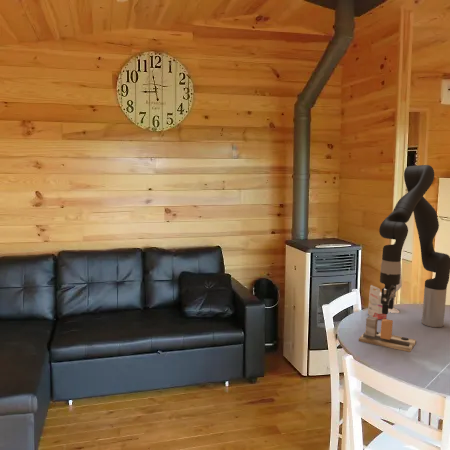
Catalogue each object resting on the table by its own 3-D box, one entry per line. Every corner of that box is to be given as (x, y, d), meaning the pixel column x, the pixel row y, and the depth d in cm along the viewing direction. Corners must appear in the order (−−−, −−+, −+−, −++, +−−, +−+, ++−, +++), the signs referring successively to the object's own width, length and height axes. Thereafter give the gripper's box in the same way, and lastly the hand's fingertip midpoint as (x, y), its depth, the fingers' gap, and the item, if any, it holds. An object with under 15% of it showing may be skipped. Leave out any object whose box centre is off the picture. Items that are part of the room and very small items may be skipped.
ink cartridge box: (387, 319, 227) (389, 288, 225) (377, 320, 226) (380, 289, 224) (376, 313, 235) (378, 284, 234) (367, 314, 234) (369, 284, 232)
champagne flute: (385, 312, 238) (388, 264, 235) (385, 308, 245) (388, 261, 241) (399, 313, 236) (403, 265, 233) (399, 309, 243) (402, 262, 240)
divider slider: (385, 333, 203) (387, 315, 202) (394, 335, 201) (395, 316, 200) (380, 340, 195) (381, 321, 194) (389, 342, 193) (390, 322, 192)
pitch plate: (366, 332, 208) (368, 310, 207) (415, 342, 198) (417, 319, 197) (358, 341, 198) (360, 318, 197) (410, 351, 188) (411, 327, 187)
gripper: (385, 267, 200) (382, 305, 202) (376, 273, 188) (373, 313, 190) (404, 269, 196) (401, 308, 198) (396, 276, 184) (392, 317, 186)
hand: (387, 311), depth 194 cm, fingers open, 8 cm apart
